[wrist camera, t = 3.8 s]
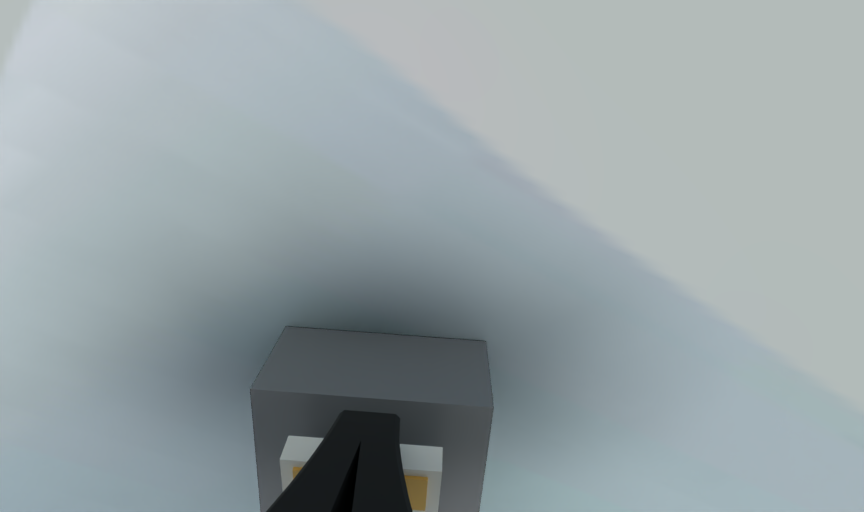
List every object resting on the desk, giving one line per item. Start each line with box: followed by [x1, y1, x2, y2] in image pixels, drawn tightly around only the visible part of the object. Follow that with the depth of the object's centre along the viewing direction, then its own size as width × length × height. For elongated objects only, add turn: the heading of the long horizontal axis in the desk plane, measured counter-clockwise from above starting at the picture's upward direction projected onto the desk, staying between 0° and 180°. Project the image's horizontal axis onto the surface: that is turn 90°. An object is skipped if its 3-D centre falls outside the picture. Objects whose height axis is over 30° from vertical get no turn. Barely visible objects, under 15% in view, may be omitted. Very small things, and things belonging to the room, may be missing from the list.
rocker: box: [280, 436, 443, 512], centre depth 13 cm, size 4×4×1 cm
